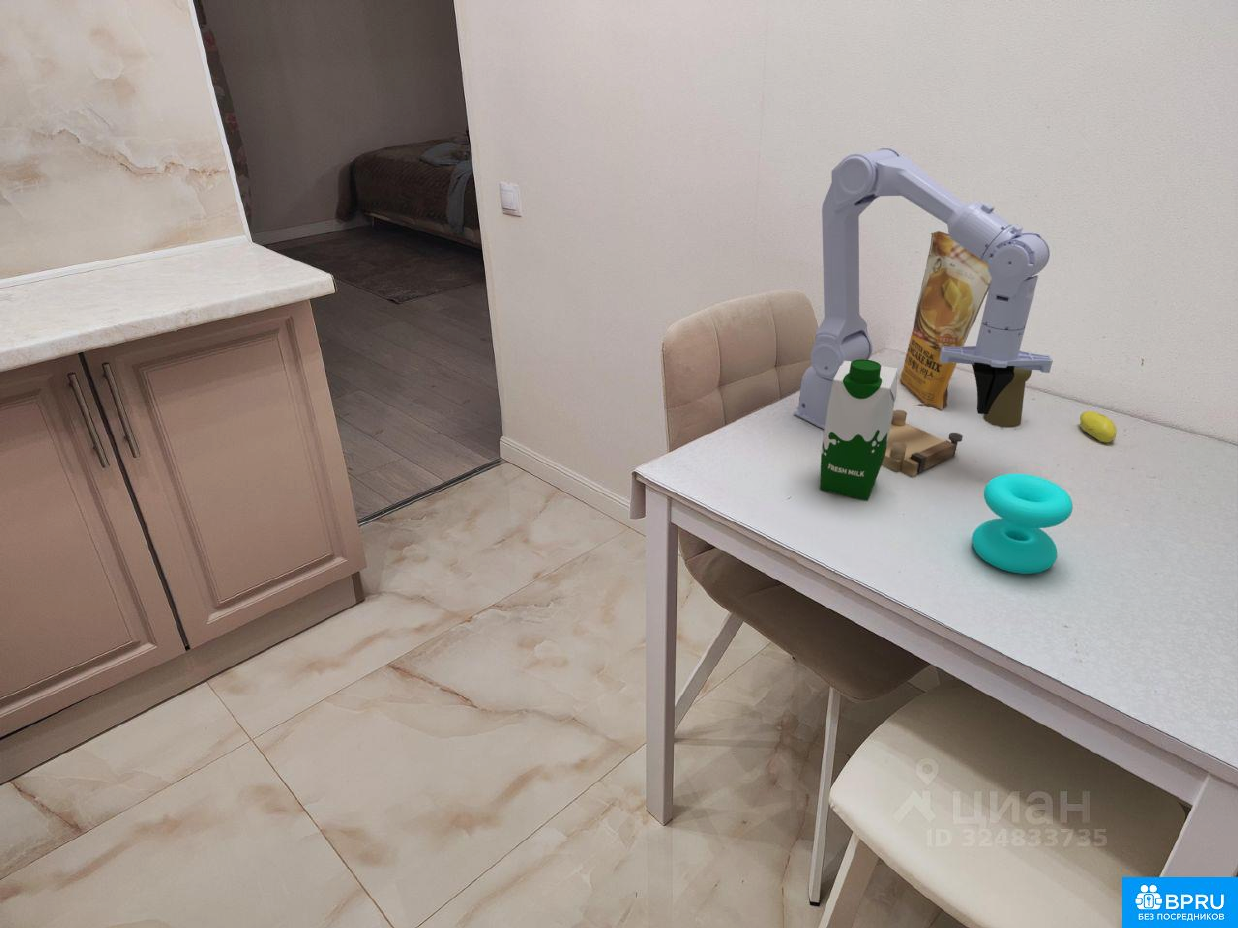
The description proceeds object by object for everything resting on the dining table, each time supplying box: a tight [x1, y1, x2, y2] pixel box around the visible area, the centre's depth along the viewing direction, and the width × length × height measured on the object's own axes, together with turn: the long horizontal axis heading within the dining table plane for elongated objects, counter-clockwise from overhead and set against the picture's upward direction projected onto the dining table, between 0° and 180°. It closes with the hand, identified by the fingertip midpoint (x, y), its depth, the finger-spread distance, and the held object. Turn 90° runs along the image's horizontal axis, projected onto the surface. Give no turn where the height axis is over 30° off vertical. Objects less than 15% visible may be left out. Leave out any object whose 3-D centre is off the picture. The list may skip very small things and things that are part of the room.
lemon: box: [1079, 410, 1118, 444], centre depth 131 cm, size 4×8×4 cm, turn 179°
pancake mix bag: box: [900, 230, 992, 411], centre depth 141 cm, size 7×19×28 cm, turn 6°
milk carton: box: [819, 359, 898, 501], centre depth 113 cm, size 9×9×20 cm
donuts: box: [971, 473, 1073, 575], centre depth 100 cm, size 10×10×10 cm
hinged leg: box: [911, 440, 955, 474], centre depth 122 cm, size 9×2×2 cm, turn 125°
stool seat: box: [881, 409, 963, 478], centre depth 126 cm, size 13×13×4 cm
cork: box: [982, 368, 1033, 429], centre depth 135 cm, size 6×6×11 cm
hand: (982, 411), depth 117 cm, fingers closed
